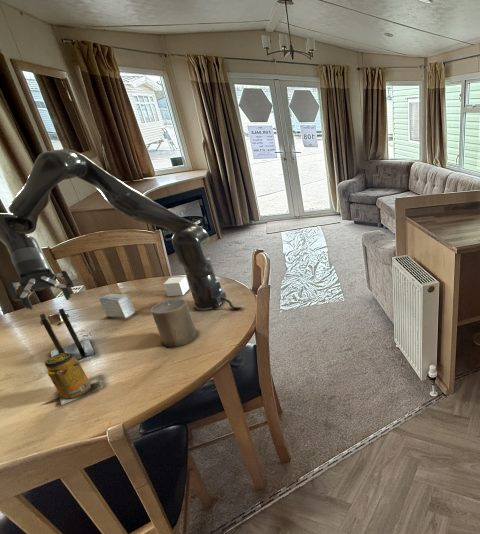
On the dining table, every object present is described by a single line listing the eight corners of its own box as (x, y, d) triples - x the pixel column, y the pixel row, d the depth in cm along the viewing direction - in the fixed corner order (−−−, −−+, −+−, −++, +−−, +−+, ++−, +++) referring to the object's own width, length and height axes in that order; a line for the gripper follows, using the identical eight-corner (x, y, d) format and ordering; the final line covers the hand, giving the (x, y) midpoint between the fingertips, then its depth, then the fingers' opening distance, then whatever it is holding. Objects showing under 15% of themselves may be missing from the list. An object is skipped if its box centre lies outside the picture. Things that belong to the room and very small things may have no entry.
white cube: (189, 288, 151) (185, 276, 149) (183, 295, 146) (179, 282, 144) (173, 289, 150) (169, 277, 148) (167, 296, 145) (163, 283, 142)
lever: (53, 328, 111) (48, 318, 111) (68, 324, 114) (63, 314, 113) (48, 326, 101) (43, 315, 101) (65, 321, 104) (60, 310, 103)
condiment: (58, 392, 95) (38, 358, 90) (99, 376, 101) (82, 343, 96) (61, 405, 91) (41, 371, 86) (103, 388, 97) (86, 354, 92)
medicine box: (137, 314, 132) (129, 294, 128) (126, 320, 128) (118, 300, 124) (118, 312, 132) (110, 293, 129) (107, 318, 128) (98, 298, 125)
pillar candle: (202, 335, 120) (191, 299, 114) (172, 351, 112) (158, 312, 106) (187, 327, 124) (175, 292, 118) (157, 341, 116) (142, 304, 110)
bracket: (51, 354, 109) (28, 312, 103) (89, 341, 116) (70, 301, 109) (56, 371, 102) (31, 327, 96) (96, 356, 109) (76, 315, 102)
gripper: (-5, 264, 108) (14, 307, 107) (58, 252, 119) (77, 292, 117) (2, 274, 114) (21, 316, 112) (62, 262, 124) (80, 300, 122)
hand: (50, 303), depth 114 cm, fingers open, 8 cm apart
